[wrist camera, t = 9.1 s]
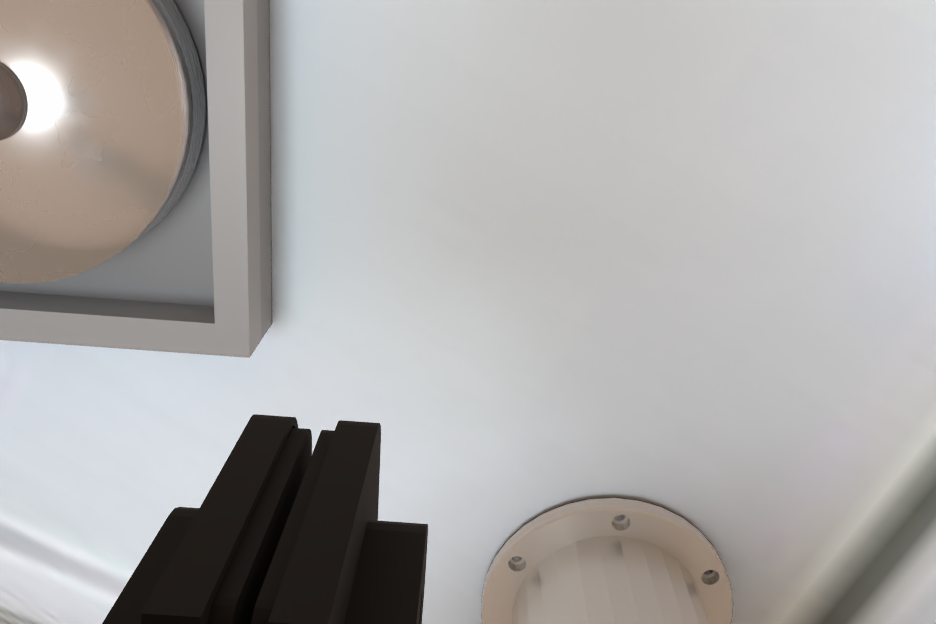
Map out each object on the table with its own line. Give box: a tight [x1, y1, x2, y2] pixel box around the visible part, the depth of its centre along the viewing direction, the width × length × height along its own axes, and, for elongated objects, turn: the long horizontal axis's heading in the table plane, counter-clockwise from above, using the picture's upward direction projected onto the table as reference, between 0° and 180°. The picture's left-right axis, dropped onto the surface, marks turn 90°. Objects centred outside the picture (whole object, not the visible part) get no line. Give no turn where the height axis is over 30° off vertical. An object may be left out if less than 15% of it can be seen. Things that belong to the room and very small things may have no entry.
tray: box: [0, 0, 272, 358], centre depth 34 cm, size 20×18×4 cm
